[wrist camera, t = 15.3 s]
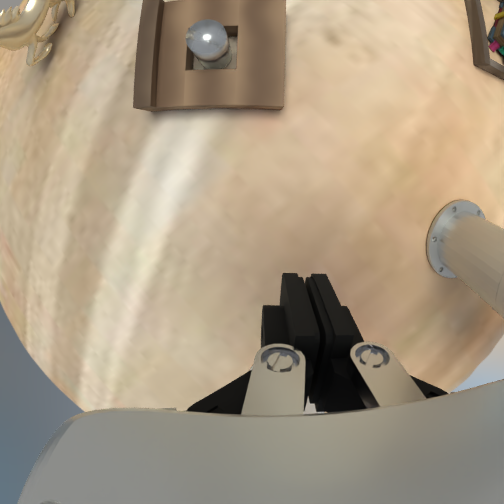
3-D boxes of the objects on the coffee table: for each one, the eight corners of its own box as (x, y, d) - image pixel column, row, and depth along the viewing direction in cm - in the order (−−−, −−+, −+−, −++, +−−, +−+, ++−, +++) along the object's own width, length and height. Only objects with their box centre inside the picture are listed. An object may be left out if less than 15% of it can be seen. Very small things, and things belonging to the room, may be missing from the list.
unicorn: (85, -29, 23) (26, -71, 7) (103, -29, 24) (46, -76, 8) (29, 80, 30) (-51, 74, 14) (44, 84, 30) (-39, 77, 14)
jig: (282, 11, 28) (287, -9, 22) (280, 110, 33) (285, 104, 28) (158, 15, 28) (143, -2, 22) (151, 111, 33) (133, 107, 27)
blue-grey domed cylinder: (232, 41, 30) (227, 18, 22) (231, 70, 31) (225, 52, 24) (200, 42, 30) (186, 20, 22) (198, 71, 31) (184, 54, 24)
